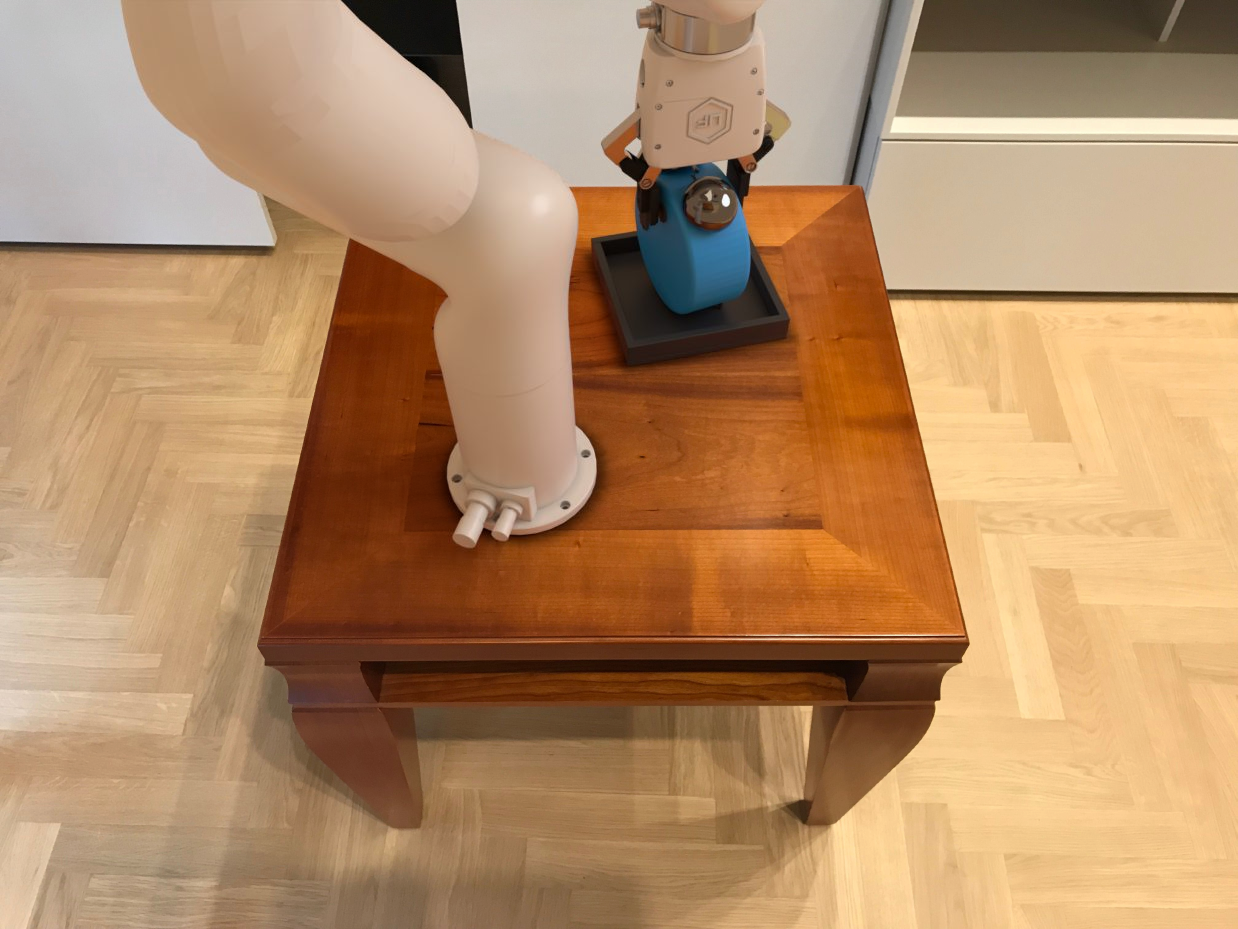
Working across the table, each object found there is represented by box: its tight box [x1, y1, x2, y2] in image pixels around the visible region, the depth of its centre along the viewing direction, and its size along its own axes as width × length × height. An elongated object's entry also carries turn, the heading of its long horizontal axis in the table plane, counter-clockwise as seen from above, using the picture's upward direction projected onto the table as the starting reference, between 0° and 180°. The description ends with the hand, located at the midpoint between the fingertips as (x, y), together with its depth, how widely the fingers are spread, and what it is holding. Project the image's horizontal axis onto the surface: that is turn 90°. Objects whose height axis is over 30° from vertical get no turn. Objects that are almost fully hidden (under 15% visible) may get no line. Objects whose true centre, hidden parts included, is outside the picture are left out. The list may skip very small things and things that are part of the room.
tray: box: [590, 230, 791, 368], centre depth 92 cm, size 16×16×3 cm
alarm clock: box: [634, 162, 750, 314], centre depth 87 cm, size 13×6×15 cm, turn 23°
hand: (691, 207), depth 85 cm, fingers open, 7 cm apart
